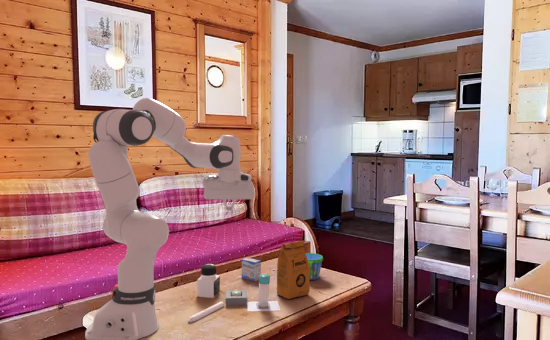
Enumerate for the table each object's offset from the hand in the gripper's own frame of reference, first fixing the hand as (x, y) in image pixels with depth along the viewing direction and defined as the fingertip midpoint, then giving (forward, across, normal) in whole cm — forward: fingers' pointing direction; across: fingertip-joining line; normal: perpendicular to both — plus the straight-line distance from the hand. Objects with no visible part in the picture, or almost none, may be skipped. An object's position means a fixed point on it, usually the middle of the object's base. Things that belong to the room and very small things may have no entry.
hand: (229, 210), depth 168 cm
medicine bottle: (+34, -8, -1) cm, 35 cm away
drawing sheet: (+34, +13, -14) cm, 39 cm away
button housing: (+34, +3, -9) cm, 35 cm away
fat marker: (+34, +13, -14) cm, 39 cm away
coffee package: (+34, +26, -4) cm, 43 cm away
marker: (+35, -8, -20) cm, 41 cm away
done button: (+33, +3, -9) cm, 35 cm away
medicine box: (+34, +10, +17) cm, 40 cm away
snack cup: (+34, +37, +16) cm, 53 cm away
